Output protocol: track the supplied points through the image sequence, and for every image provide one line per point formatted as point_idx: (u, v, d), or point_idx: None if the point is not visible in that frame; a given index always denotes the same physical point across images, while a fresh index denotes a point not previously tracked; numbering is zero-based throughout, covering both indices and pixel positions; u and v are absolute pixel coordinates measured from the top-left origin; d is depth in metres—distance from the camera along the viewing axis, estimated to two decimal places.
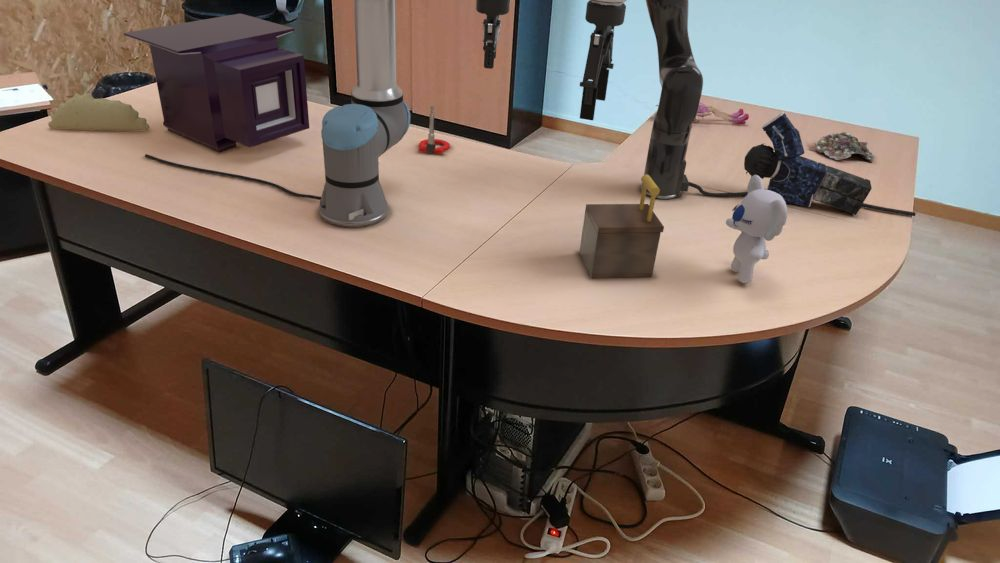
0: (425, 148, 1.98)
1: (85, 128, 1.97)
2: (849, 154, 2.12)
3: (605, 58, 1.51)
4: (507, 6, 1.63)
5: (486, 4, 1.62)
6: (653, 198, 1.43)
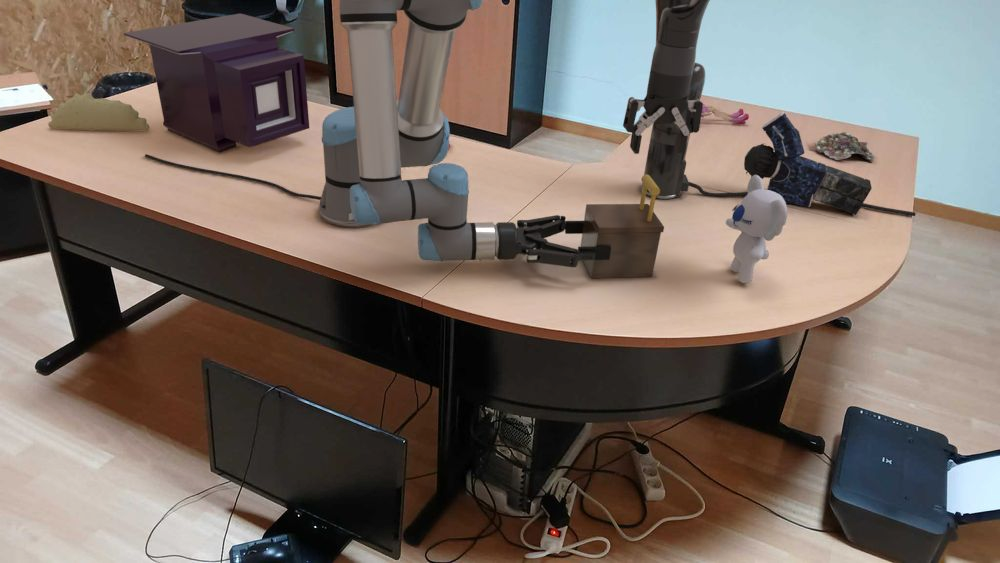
0: None
1: (85, 128, 1.97)
2: (849, 154, 2.12)
3: None
4: None
5: (690, 84, 1.33)
6: (653, 198, 1.43)
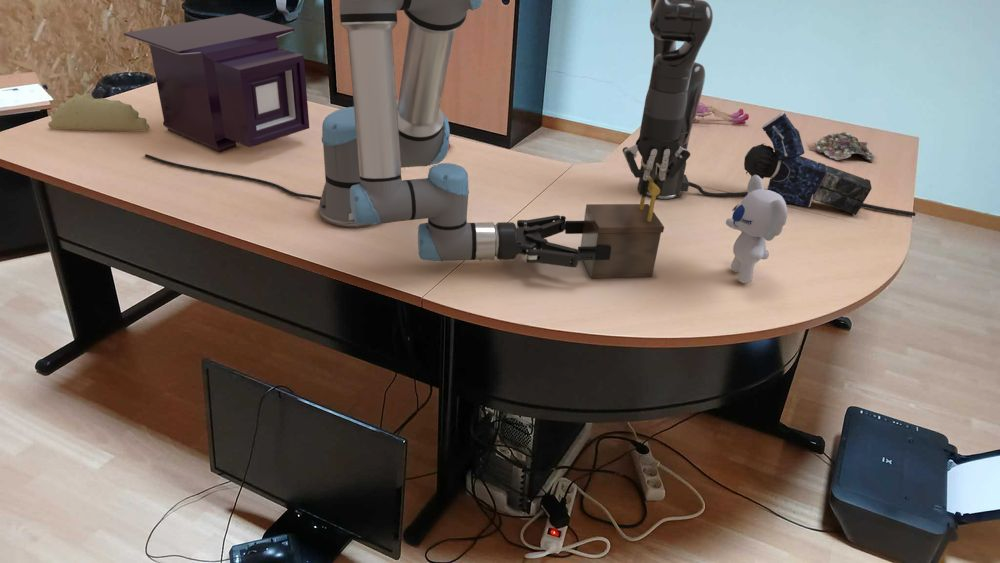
0: None
1: (85, 128, 1.97)
2: (849, 154, 2.12)
3: None
4: None
5: (681, 126, 1.38)
6: (653, 198, 1.43)
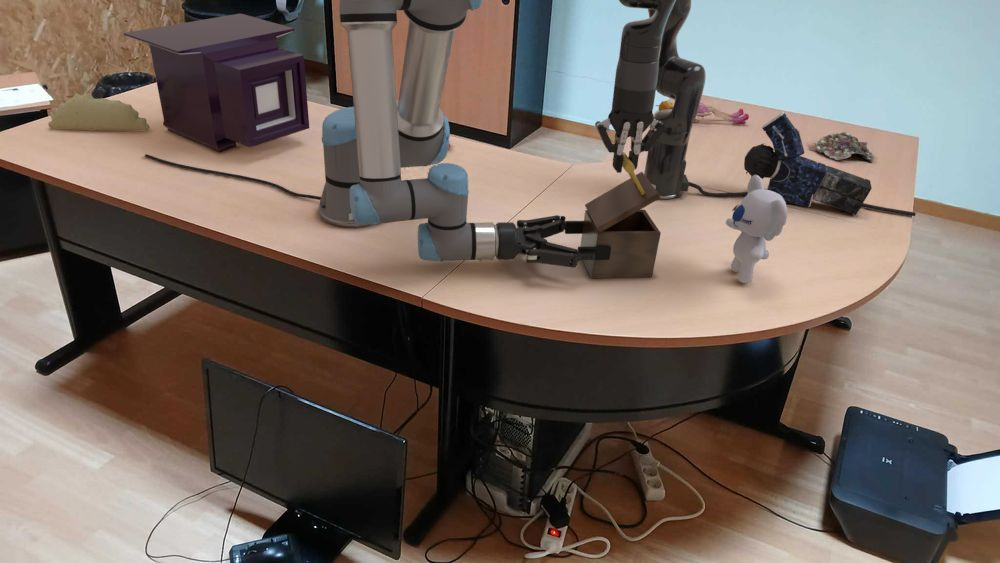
0: None
1: (85, 128, 1.97)
2: (849, 154, 2.12)
3: None
4: None
5: (654, 98, 1.34)
6: (632, 174, 1.40)
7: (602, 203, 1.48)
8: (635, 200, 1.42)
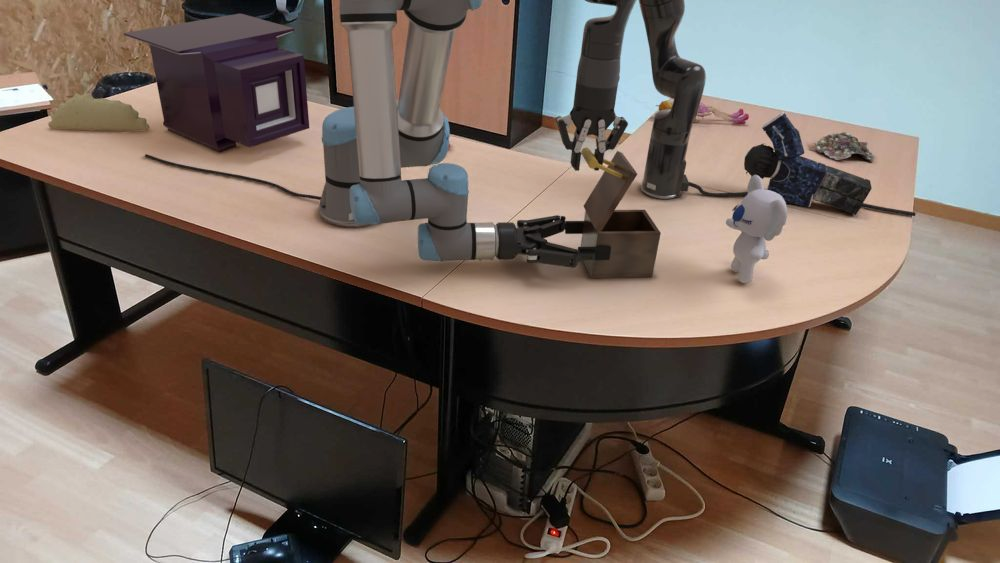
0: None
1: (85, 128, 1.97)
2: (849, 154, 2.12)
3: None
4: None
5: None
6: (599, 167, 1.38)
7: (595, 199, 1.47)
8: (617, 186, 1.40)
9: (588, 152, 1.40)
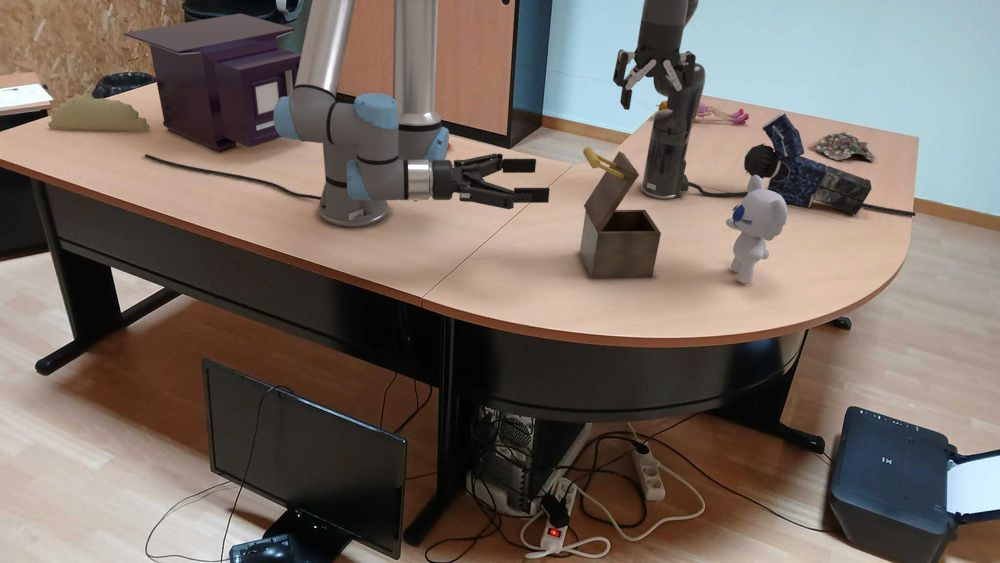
0: None
1: (85, 128, 1.97)
2: (849, 154, 2.12)
3: None
4: None
5: None
6: (601, 167, 1.38)
7: (595, 199, 1.47)
8: (618, 187, 1.40)
9: (590, 152, 1.40)
